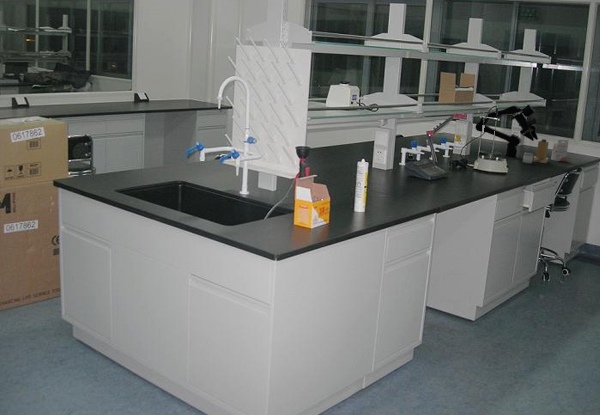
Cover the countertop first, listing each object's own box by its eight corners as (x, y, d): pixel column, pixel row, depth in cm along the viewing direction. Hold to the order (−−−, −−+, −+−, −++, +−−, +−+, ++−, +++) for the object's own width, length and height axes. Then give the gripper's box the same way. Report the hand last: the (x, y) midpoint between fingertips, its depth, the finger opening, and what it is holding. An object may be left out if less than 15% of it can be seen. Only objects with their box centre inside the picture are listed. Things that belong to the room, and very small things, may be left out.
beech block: (533, 162, 468) (533, 157, 467) (533, 160, 476) (534, 155, 475) (547, 164, 465) (547, 159, 464) (547, 162, 473) (548, 157, 472)
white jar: (522, 162, 459) (523, 153, 458) (522, 161, 465) (524, 152, 463) (531, 163, 457) (533, 154, 456) (532, 162, 463) (533, 153, 461)
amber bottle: (535, 157, 469) (538, 139, 466) (538, 156, 473) (542, 138, 470) (542, 158, 466) (546, 140, 463) (545, 158, 470) (549, 139, 467)
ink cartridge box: (560, 159, 486) (564, 139, 482) (565, 161, 481) (569, 140, 477) (550, 159, 483) (554, 138, 480) (554, 160, 479) (558, 139, 475)
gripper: (527, 114, 461) (541, 134, 458) (536, 113, 476) (549, 132, 473) (514, 124, 467) (527, 143, 464) (522, 123, 482) (535, 141, 479)
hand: (535, 140), depth 470 cm, fingers open, 9 cm apart
